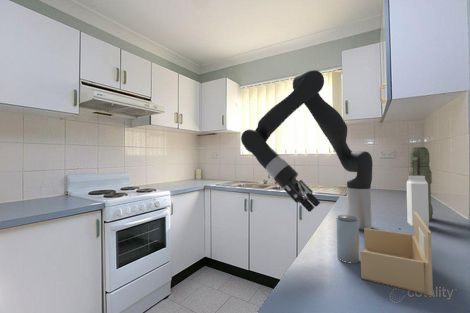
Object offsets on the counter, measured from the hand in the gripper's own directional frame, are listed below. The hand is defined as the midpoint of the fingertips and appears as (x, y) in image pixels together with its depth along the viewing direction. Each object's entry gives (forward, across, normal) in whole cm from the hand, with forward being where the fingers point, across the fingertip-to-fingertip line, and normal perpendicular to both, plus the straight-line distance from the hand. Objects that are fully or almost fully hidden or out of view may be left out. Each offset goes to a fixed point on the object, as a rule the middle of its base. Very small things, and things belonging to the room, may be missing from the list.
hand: (315, 207), depth 73 cm
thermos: (+35, +67, -14) cm, 77 cm away
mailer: (+24, 0, -4) cm, 25 cm away
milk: (+33, +52, -12) cm, 63 cm away
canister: (+17, 0, +4) cm, 17 cm away
